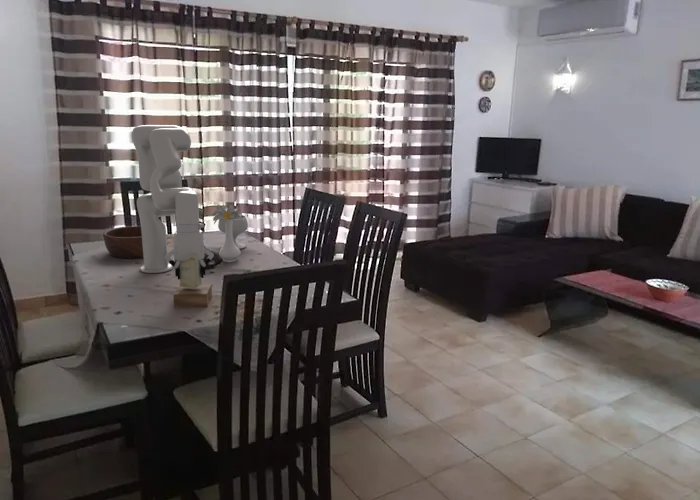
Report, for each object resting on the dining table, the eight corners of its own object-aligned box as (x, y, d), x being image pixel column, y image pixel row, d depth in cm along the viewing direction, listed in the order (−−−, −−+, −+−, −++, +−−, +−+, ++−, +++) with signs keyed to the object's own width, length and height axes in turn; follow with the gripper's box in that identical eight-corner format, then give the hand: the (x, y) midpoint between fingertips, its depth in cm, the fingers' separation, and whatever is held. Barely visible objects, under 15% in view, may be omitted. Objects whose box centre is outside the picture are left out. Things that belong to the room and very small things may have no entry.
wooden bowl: (104, 248, 261) (102, 227, 258) (160, 244, 270) (159, 224, 268) (104, 262, 239) (102, 239, 236) (165, 257, 248) (164, 235, 246)
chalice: (212, 247, 267) (211, 216, 263) (235, 242, 278) (234, 212, 274) (232, 252, 259) (231, 220, 255) (254, 246, 270) (253, 216, 266)
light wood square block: (180, 297, 199) (180, 284, 198) (212, 297, 200) (211, 284, 199) (174, 308, 188) (173, 294, 187) (207, 308, 189) (206, 294, 188)
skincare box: (179, 286, 192) (177, 252, 188) (186, 282, 196) (184, 249, 193) (196, 288, 190) (194, 254, 187) (202, 284, 194) (201, 251, 191)
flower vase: (235, 253, 257) (234, 200, 251) (250, 263, 242) (248, 206, 235) (208, 256, 250) (205, 202, 244) (220, 267, 235) (218, 209, 229)
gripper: (213, 224, 193) (215, 273, 198) (161, 226, 189) (164, 275, 193) (214, 229, 187) (216, 279, 191) (160, 231, 182) (163, 282, 186)
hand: (190, 277), depth 192 cm, fingers closed on skincare box, 7 cm apart
